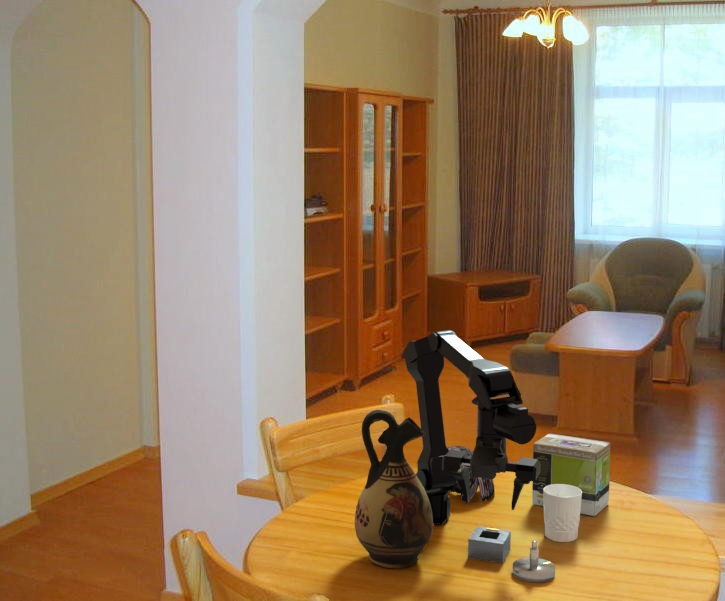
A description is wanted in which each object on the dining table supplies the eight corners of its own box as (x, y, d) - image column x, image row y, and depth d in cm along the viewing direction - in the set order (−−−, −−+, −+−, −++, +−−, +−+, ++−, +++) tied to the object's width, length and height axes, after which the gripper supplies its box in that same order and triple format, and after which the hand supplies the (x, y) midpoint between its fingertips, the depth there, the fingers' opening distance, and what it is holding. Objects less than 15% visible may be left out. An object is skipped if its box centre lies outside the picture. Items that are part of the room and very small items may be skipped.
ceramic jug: (430, 543, 201) (432, 401, 196) (434, 576, 185) (436, 423, 181) (348, 542, 201) (347, 401, 196) (344, 575, 186) (344, 422, 181)
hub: (508, 579, 184) (509, 546, 183) (517, 562, 191) (517, 530, 190) (551, 585, 181) (552, 552, 180) (558, 568, 189) (559, 536, 188)
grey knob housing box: (467, 558, 193) (468, 538, 193) (476, 544, 200) (476, 525, 199) (502, 563, 191) (503, 543, 190) (510, 549, 197) (510, 529, 197)
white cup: (580, 545, 200) (582, 498, 198) (541, 542, 201) (542, 495, 200) (580, 530, 207) (581, 485, 206) (542, 527, 209) (543, 482, 207)
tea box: (609, 504, 222) (612, 441, 220) (594, 518, 214) (597, 453, 212) (547, 491, 230) (549, 431, 228) (530, 505, 222) (532, 442, 220)
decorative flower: (460, 469, 217) (435, 432, 229) (440, 512, 220) (416, 473, 233) (514, 478, 223) (486, 441, 235) (493, 519, 226) (467, 481, 239)
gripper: (434, 437, 187) (433, 514, 190) (531, 447, 181) (529, 527, 183) (449, 421, 197) (448, 495, 200) (542, 431, 191) (539, 507, 194)
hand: (490, 506), depth 194 cm, fingers open, 9 cm apart
